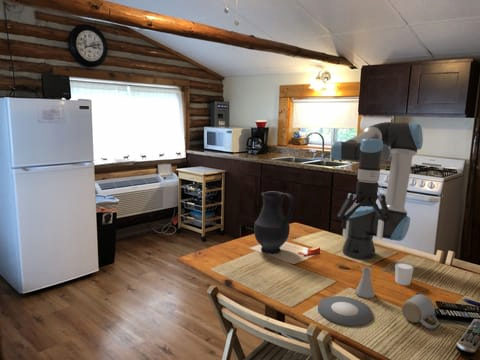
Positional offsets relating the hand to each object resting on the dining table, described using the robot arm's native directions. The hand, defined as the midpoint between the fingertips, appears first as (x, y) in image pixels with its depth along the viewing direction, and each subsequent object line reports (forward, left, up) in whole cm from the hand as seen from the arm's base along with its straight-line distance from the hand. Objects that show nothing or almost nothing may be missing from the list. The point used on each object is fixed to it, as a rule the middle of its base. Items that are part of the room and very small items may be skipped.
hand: (362, 237), depth 140 cm
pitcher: (+18, -46, -22) cm, 54 cm away
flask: (-2, +2, -22) cm, 22 cm away
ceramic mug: (-10, +23, -22) cm, 33 cm away
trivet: (+12, +12, -22) cm, 28 cm away
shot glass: (-23, -4, -22) cm, 32 cm away
